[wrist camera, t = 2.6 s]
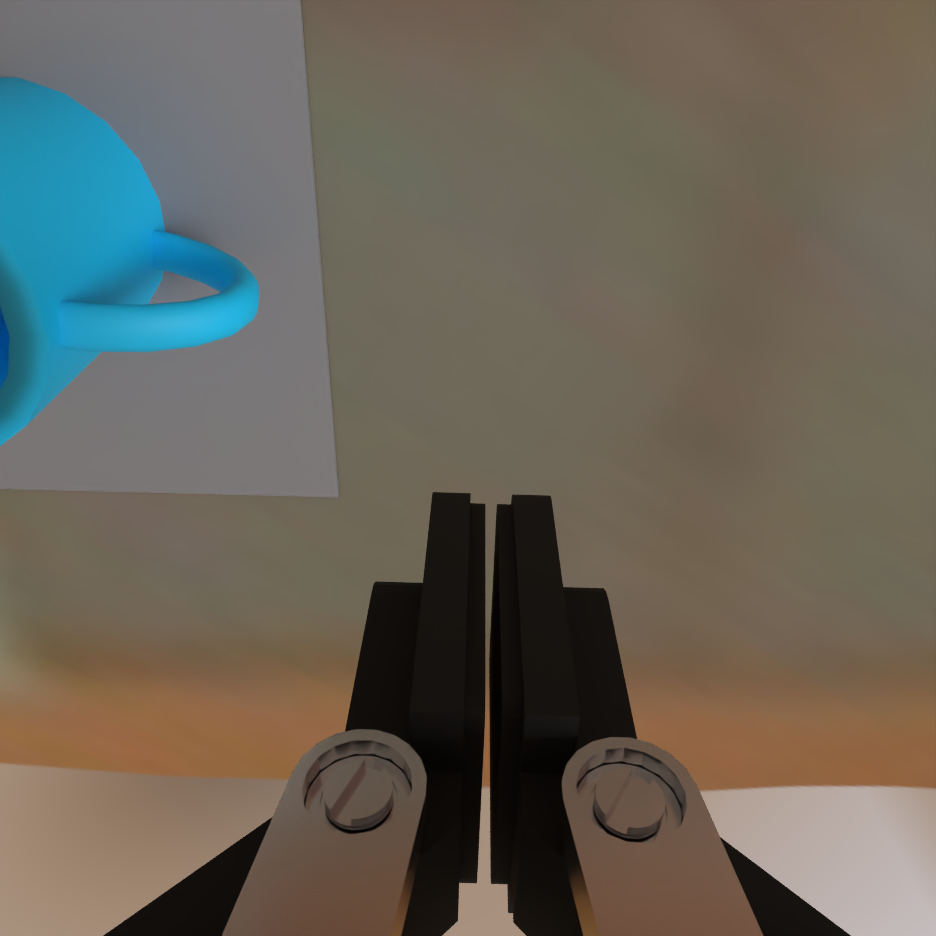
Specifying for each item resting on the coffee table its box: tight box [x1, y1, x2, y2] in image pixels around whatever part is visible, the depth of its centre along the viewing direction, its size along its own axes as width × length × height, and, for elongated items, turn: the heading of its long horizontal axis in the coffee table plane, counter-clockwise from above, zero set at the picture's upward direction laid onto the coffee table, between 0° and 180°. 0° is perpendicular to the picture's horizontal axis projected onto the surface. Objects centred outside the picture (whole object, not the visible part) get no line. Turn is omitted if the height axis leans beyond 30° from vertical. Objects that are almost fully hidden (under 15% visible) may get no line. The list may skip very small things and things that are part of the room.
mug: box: [0, 77, 259, 446], centre depth 21 cm, size 12×8×8 cm
